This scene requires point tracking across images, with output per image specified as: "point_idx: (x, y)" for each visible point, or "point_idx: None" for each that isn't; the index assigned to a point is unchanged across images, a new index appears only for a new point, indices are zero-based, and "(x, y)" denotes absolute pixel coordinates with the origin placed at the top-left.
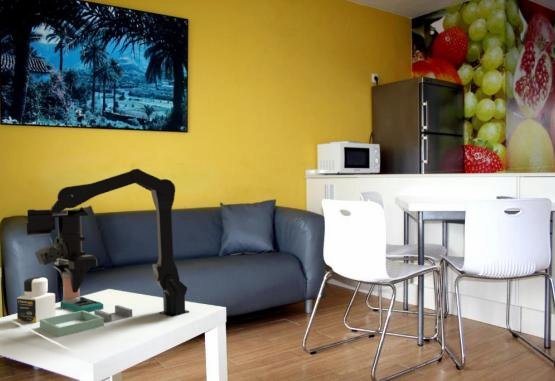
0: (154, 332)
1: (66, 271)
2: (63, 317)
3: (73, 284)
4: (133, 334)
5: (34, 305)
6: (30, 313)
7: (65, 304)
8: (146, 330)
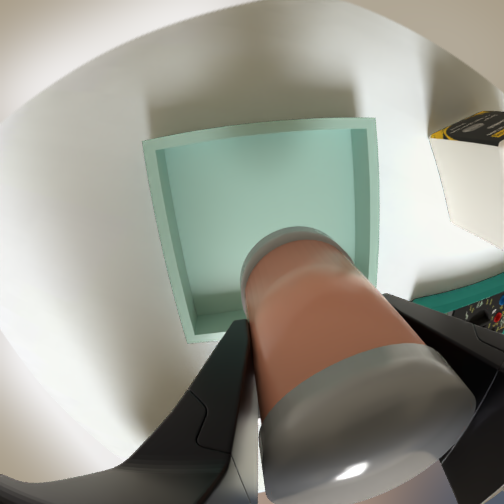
0: (60, 384)
1: (455, 424)
2: (364, 224)
3: (206, 368)
4: (62, 348)
5: (480, 139)
6: (469, 129)
7: (500, 283)
8: (84, 382)
